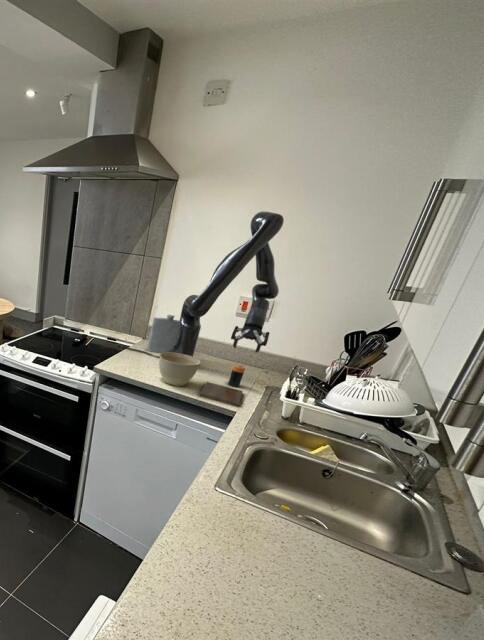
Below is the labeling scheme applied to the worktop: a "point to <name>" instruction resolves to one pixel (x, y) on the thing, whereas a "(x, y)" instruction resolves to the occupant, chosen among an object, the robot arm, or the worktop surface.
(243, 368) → the battery
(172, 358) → the planter bowl
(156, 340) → the hip flask
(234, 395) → the walnut board
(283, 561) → the worktop surface
